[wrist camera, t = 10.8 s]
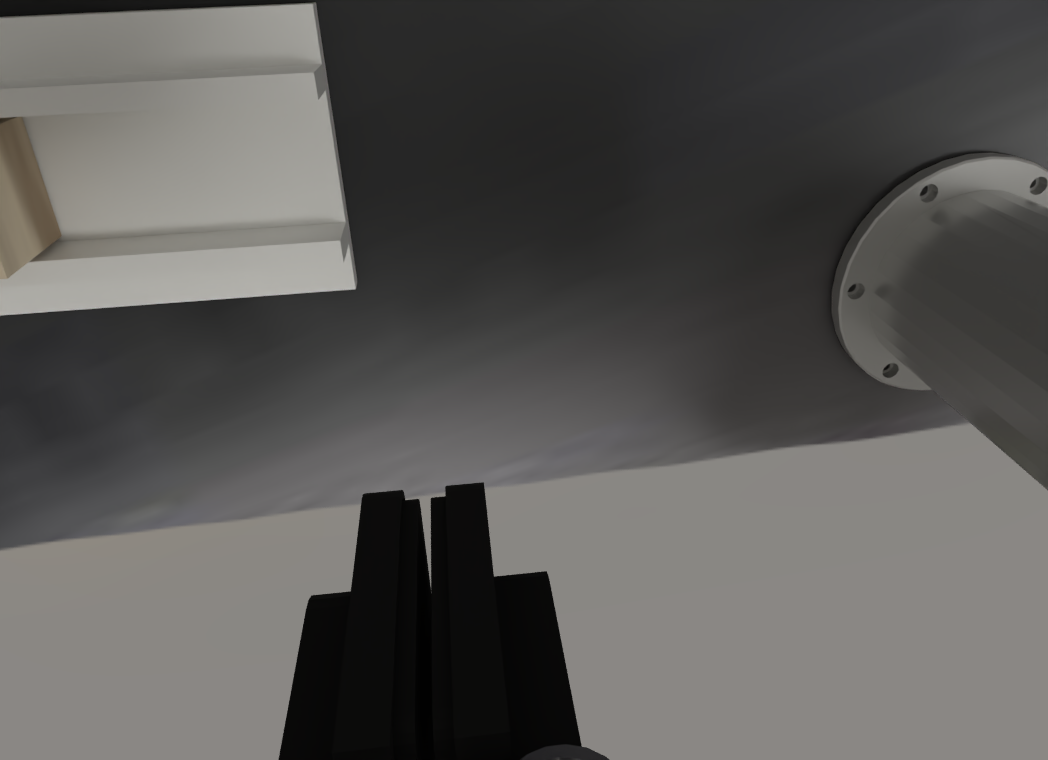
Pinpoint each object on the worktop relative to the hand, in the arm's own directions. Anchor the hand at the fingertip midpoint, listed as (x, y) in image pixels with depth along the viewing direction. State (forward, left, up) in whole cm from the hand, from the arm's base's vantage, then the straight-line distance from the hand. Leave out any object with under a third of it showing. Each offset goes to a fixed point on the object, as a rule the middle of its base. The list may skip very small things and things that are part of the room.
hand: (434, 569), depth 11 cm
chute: (+12, 0, -27) cm, 30 cm away
